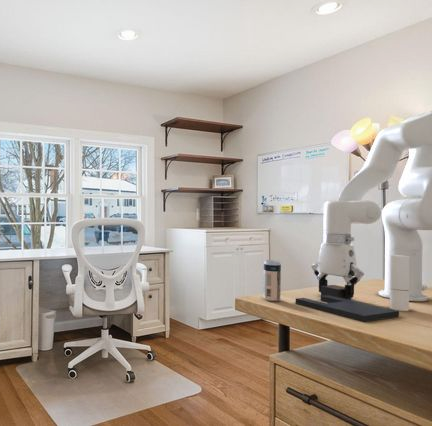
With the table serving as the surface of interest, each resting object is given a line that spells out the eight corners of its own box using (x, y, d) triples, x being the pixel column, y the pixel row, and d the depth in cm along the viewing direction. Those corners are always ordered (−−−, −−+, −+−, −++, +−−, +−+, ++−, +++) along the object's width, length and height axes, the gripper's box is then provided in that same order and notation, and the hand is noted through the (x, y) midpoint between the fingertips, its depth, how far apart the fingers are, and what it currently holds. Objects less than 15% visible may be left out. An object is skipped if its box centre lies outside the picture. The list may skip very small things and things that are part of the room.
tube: (412, 311, 104) (412, 257, 104) (394, 310, 105) (395, 256, 105) (403, 307, 108) (404, 255, 108) (386, 306, 109) (387, 254, 109)
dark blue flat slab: (328, 299, 117) (328, 295, 117) (399, 316, 98) (399, 310, 98) (295, 303, 111) (295, 298, 111) (364, 322, 93) (364, 315, 93)
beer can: (283, 302, 113) (283, 261, 113) (267, 301, 113) (267, 261, 113) (276, 298, 118) (276, 259, 118) (260, 298, 118) (261, 259, 118)
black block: (333, 295, 123) (333, 284, 123) (351, 299, 118) (351, 288, 118) (320, 296, 121) (320, 285, 121) (338, 300, 116) (338, 289, 116)
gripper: (372, 241, 113) (371, 299, 113) (320, 237, 129) (319, 288, 129) (356, 241, 110) (355, 301, 110) (304, 237, 126) (303, 290, 126)
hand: (335, 294), depth 119 cm, fingers open, 8 cm apart
